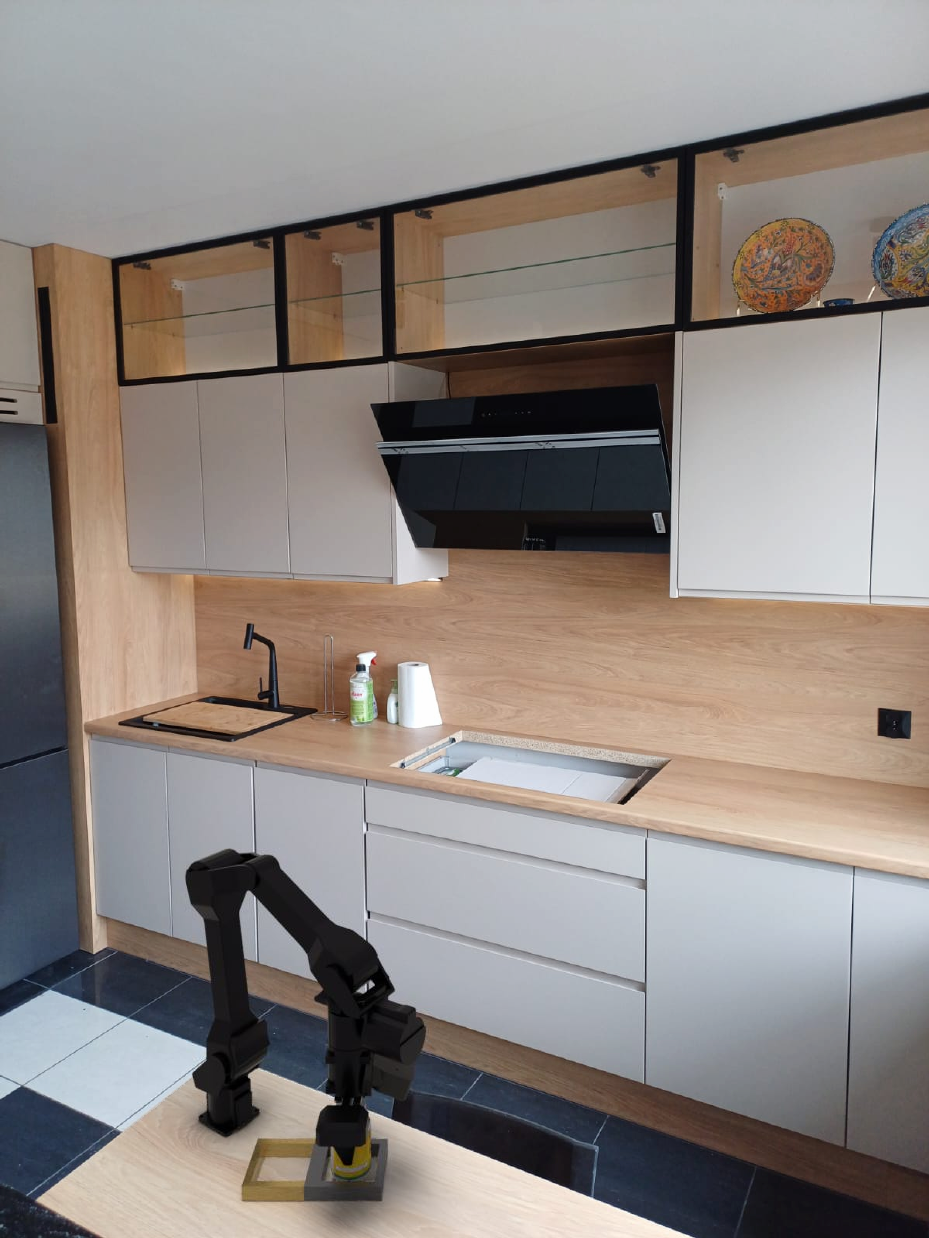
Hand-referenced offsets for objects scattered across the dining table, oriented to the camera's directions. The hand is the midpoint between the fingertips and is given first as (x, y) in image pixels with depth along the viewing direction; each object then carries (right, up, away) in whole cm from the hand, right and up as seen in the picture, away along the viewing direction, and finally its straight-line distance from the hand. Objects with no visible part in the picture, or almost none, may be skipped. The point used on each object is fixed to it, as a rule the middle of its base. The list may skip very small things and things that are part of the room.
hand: (350, 1149), depth 117 cm
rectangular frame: (-4, -4, 0) cm, 6 cm away
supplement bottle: (0, -3, 0) cm, 3 cm away
